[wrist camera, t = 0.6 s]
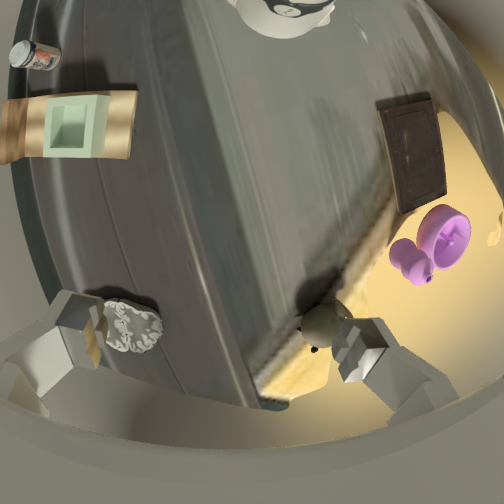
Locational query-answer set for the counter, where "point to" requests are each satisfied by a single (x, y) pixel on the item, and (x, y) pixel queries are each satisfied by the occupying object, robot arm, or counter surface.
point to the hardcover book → (414, 153)
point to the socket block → (75, 126)
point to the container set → (432, 245)
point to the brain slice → (132, 325)
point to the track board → (33, 121)
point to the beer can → (34, 55)
